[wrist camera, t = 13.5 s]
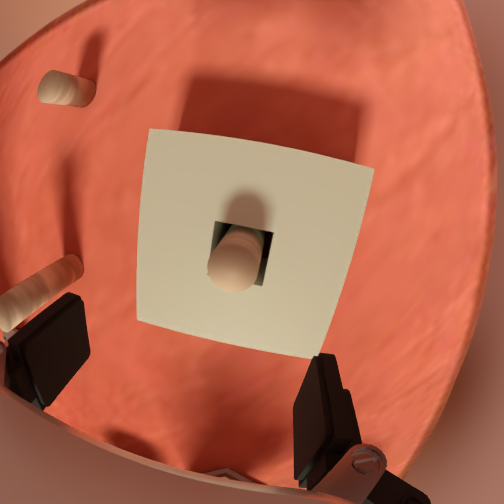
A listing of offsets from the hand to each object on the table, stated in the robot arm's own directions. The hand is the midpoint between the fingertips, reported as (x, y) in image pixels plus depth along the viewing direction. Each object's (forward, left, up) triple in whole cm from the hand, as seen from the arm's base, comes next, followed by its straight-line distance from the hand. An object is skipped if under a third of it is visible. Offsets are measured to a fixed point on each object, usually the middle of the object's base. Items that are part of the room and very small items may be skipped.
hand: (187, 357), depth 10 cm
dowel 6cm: (+12, +20, -17) cm, 29 cm away
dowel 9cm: (0, 0, -17) cm, 17 cm away
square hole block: (0, 0, -17) cm, 17 cm away
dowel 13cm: (-8, +20, -17) cm, 27 cm away
